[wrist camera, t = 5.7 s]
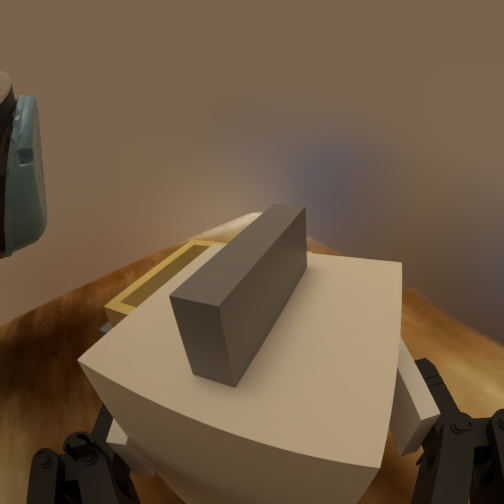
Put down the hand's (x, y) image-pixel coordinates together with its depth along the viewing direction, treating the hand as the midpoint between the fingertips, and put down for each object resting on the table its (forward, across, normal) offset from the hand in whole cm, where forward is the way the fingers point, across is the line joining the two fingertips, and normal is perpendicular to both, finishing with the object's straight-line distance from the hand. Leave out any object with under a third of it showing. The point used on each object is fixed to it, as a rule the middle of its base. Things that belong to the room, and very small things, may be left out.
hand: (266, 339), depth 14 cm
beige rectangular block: (-4, 0, -7) cm, 8 cm away
